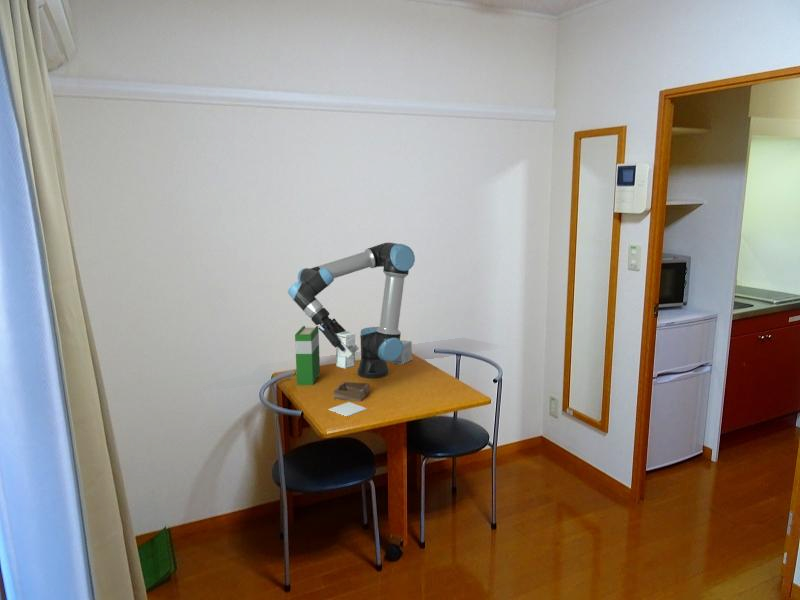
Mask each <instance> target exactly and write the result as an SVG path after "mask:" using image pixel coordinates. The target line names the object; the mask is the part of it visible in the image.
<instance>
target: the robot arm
mask: <svg viewBox="0 0 800 600" xmlns="http://www.w3.org/2000/svg"><path fill="white" fill-rule="evenodd" d="M415 260H416V258H415V253H414V250H413V249H412V248H411V247H410V246H409V245H406V244H404V243H394V242H384V243H383V242H382V243H380V244H377V245H375V246H371V247H369V248H365V250H364V251H363V252H360V253H357V254H354V255H349V256H347V257H344V258H341V259H337V260H333V261H329V262H327V263H324V264H320V265H317V266H315V267H311V268H308V267H307V268H305V267H304V268H302V269H300V270H299V271H298V273H297V279H298V281H295V282H294V283H293V284H292V285H291V286H290V287H289V288H288V289H287V294H288V295H289V296H290V298H291V299H292V301H294V303H295V304H297V306H298V307H300V309H301V310H302V311H303V312H304V314H305V315H306V316H308V318H310V319H311V321H312V323H314V325H315V326H318V325H320V326H318V329H319V332H322V334H323V335H324V336H325V338H326V339H327V340H328V341H329V343H330V344H331V345H332V346H333V347H334V348H336V347H338V348H339V349H340V350H341V351H342V352H343V353H344V354H345V355H346V357H347V358H348V357H350V356H351V355H352V354H353V353H352V352H351V351H350V350H349V349H348V348H347V347H346V345H345V344H344V343H343V342H341V341H340V340H339V338H338V337H337V335H336V334H337V333H341V332H345V331H347V330H346V329H345V328H344V327H343V326H342V325H341V324H340V323H339V322H338V321H337V320H336V318H330V317H329V316H330V312H329V311H328V310H327V309H326V307H324V306H323V304H322V303H321V302H320V301H319V300H318V299H317V297H316V296H317V295H319V294H320V293H321V292H322V291H324V290H325V289H326V288H328V286H330V285H331V284H332V283H333V282H334V280H335V279H336V278H339V277H343V276H346V275H349V274H352V273H355V272H358V271H362V270H365V269H367V268H369V269H374V268H379V267H383V269H382V270H383V271H382V272H383V273H384V275H385V280H384V289H383V295H382V296H383V297H382V305H381V313H380V320H379V326H369V327H364V328H362V329H361V330H360V336H359V337H360V348H359V346H357V345H356V344H355V353H357V351H358V350H359V349H360V361H359V365H358V367H357V375H358V376H360V377H362V378H365V377H366V378H365V379H378V377H380V378H383V376H384V377H387V376H388V375H389V374H388V373H389V366H388V362H389V363H390V362H391V363H392V361H395V360H397V359H398V358H399V357H400V356H401V354H402V352H403V343H402V342H401V336H402V335H401V331H400V330H399V326H400V325H399V324H400V323H399V322H400V318H401V317H400V315H401V306H402V300H403V292H404V285H405V284H404V283H405V278H406V277H407V276H408V275H409V272H410V269H412V267H413V266H414V265H415Z"/></svg>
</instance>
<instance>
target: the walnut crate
mask: <svg viewBox="0 0 800 600" xmlns="http://www.w3.org/2000/svg"><path fill="white" fill-rule="evenodd" d="M369 393H370V384H369V383H365V382H353V381H352V382H351V381H350V382H349V381H342V383H340V384H339V385H338V386H337V387H336V388H335V389H334V390H333V399H334V400H335V399H339V401H347V400H348V402H359V403H361V402H362V401H363V400H364V399H365V398H366V397H367V395H368V394H369Z"/></svg>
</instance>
